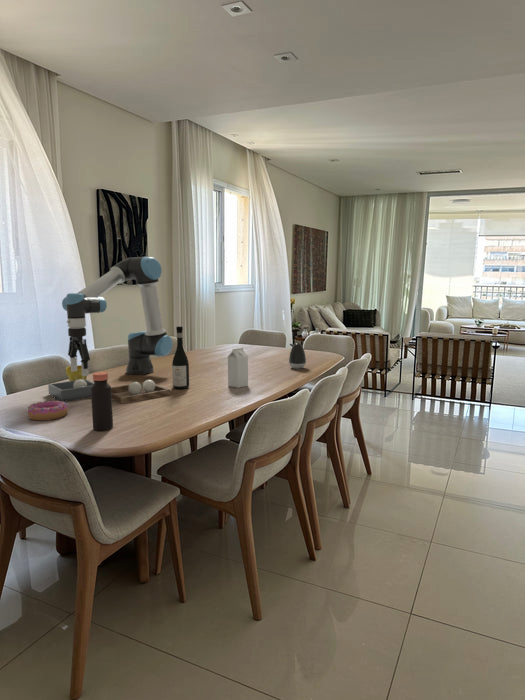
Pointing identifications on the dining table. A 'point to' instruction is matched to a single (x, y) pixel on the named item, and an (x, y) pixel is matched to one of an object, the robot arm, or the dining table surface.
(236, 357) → the milk carton
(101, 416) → the vinegar
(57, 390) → the grey shallow box
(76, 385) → the off-white glossy ball
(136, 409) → the dining table surface
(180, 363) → the wine bottle
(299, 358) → the pump dispenser
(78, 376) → the plant pot
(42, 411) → the donut
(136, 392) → the pebble
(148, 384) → the pebble
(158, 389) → the tray
